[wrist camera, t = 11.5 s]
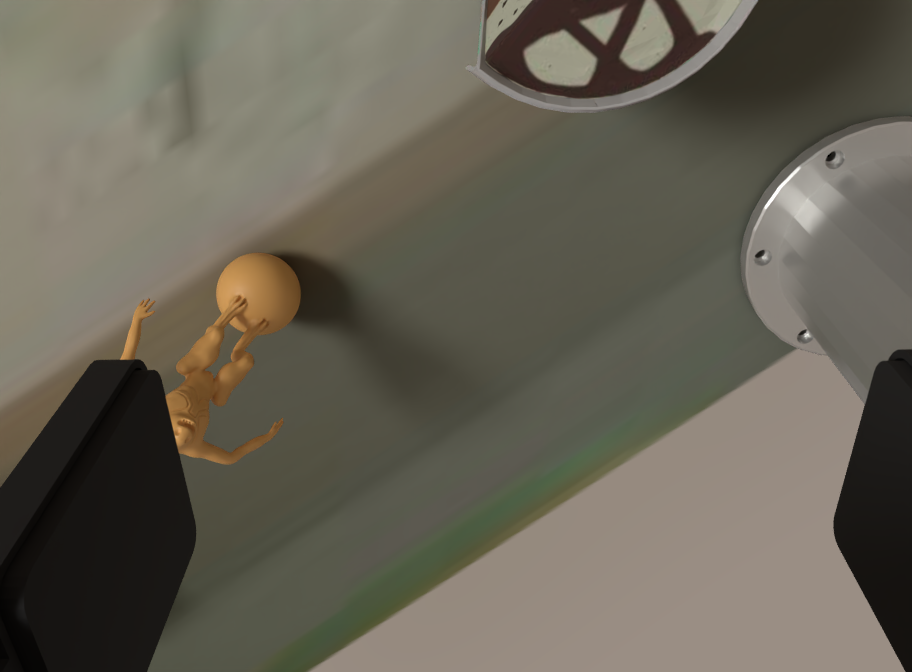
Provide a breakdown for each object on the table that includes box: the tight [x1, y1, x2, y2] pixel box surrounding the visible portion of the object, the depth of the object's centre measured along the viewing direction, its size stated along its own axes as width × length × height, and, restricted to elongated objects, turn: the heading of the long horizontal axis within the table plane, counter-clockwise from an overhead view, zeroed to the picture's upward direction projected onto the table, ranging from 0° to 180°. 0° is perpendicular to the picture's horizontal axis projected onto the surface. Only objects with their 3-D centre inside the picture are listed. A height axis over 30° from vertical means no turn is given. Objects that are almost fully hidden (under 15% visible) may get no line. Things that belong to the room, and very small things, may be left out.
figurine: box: [120, 253, 301, 464], centre depth 37 cm, size 8×6×12 cm
